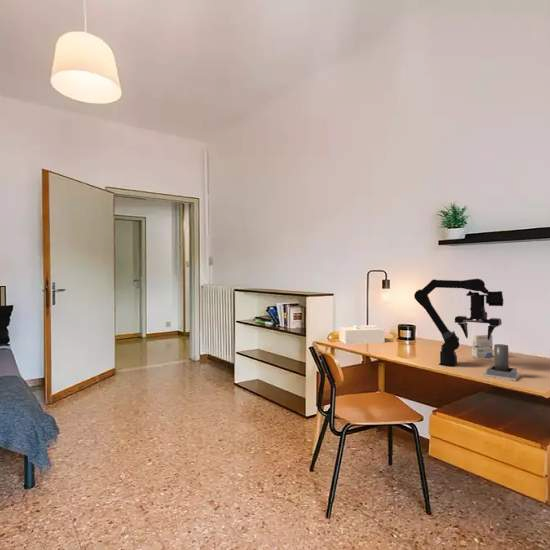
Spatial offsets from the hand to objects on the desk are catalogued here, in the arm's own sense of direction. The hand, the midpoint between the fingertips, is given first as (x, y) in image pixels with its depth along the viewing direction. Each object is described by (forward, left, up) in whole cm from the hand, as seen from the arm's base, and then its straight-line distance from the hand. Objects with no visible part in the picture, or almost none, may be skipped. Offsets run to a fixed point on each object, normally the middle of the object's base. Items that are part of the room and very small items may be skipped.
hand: (477, 339), depth 183 cm
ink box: (-4, +24, -13) cm, 28 cm away
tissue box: (-75, +26, -14) cm, 80 cm away
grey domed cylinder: (+12, -10, -12) cm, 20 cm away
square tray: (+12, -10, -13) cm, 20 cm away
